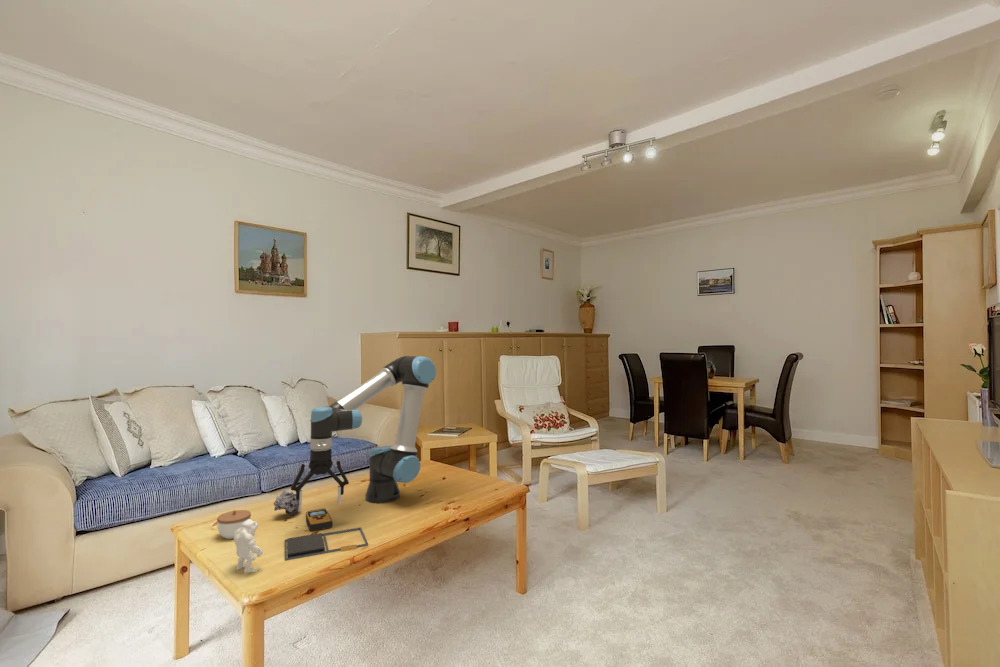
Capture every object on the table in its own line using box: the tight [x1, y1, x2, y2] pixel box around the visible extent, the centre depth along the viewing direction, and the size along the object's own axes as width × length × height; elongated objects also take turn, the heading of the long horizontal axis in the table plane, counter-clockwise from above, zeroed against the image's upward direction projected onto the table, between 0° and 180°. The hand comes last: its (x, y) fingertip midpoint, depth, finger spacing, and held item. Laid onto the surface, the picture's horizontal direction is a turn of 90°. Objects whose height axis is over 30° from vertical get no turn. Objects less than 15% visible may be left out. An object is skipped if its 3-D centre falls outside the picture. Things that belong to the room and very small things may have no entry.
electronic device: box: [305, 508, 333, 532], centre depth 184 cm, size 8×16×3 cm, turn 28°
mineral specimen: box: [273, 490, 299, 516], centre depth 192 cm, size 12×9×10 cm
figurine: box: [233, 518, 263, 574], centre depth 147 cm, size 11×7×15 cm, turn 56°
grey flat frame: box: [284, 527, 369, 562], centre depth 165 cm, size 17×26×2 cm, turn 115°
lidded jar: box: [216, 509, 252, 540], centre depth 173 cm, size 11×11×9 cm
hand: (319, 506), depth 178 cm, fingers open, 13 cm apart
